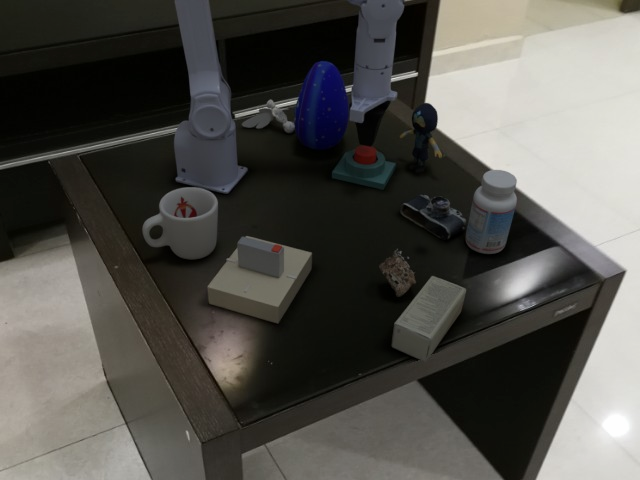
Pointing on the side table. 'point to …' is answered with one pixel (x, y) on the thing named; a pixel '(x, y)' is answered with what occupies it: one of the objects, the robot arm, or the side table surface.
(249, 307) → the panel
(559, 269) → the side table surface
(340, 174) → the button block
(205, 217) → the cup
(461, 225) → the camera
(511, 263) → the side table surface
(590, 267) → the side table surface
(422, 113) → the character figure
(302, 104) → the ornament
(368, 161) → the button
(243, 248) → the gray rectangular block
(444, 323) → the box
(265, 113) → the fairy figurine
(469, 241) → the pill bottle
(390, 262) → the rock
